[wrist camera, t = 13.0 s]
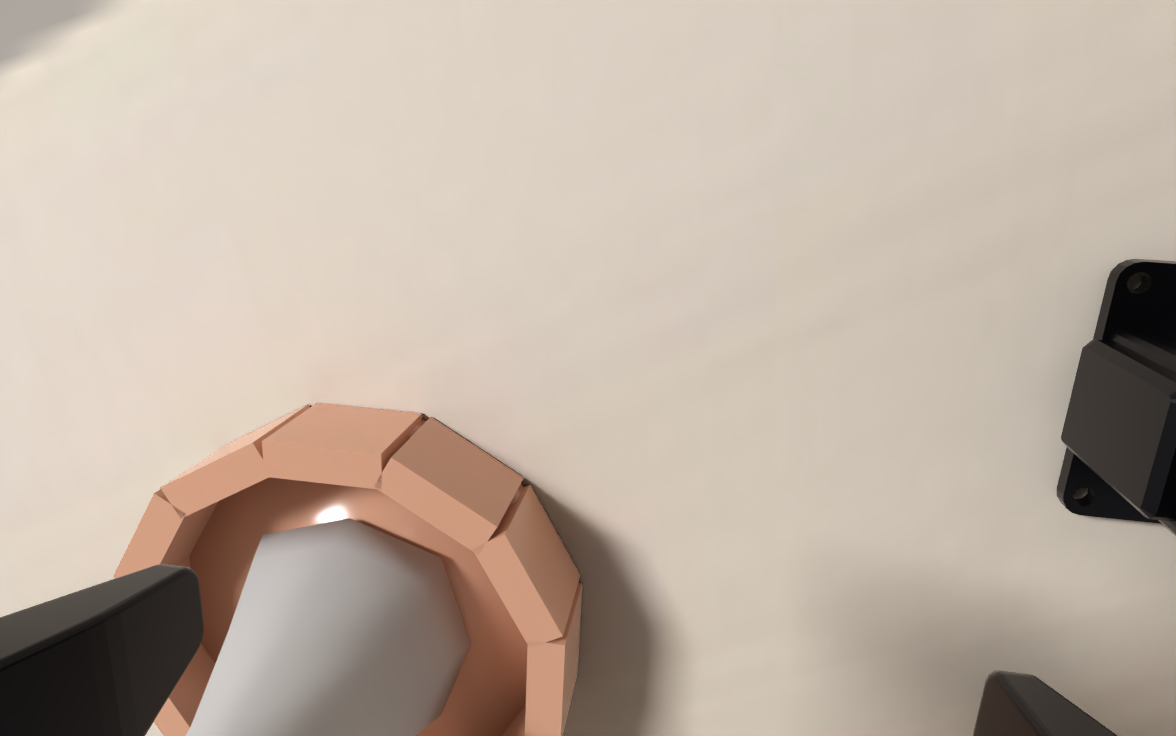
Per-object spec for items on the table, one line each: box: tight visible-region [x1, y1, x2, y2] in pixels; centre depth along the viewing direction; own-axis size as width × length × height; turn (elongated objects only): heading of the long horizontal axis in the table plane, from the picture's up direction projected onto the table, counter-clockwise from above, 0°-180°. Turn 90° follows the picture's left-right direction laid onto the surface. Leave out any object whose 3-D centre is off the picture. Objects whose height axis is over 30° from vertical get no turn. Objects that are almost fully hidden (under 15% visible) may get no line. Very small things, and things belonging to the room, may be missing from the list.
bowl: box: [113, 403, 582, 736], centre depth 23 cm, size 13×13×3 cm
